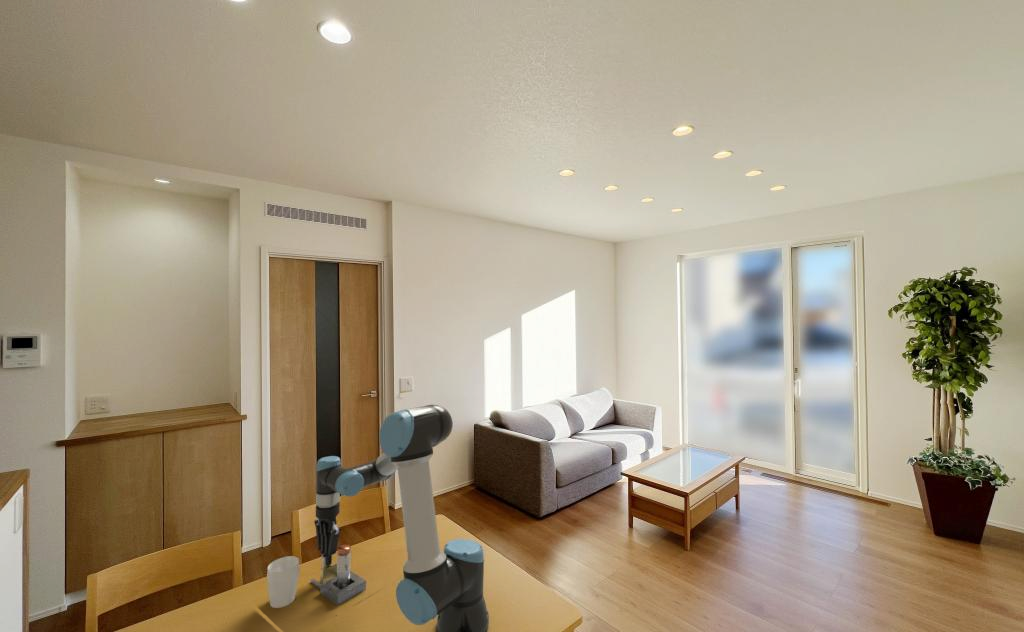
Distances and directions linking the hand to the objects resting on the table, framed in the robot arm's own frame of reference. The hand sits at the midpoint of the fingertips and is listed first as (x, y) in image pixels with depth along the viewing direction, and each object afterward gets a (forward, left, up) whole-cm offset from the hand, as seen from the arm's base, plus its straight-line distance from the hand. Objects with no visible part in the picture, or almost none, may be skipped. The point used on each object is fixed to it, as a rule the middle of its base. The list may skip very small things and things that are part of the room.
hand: (326, 573), depth 139 cm
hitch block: (-6, -1, -3) cm, 7 cm away
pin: (-10, 0, -2) cm, 11 cm away
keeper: (-1, 0, -2) cm, 3 cm away
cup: (+1, +14, -3) cm, 14 cm away
